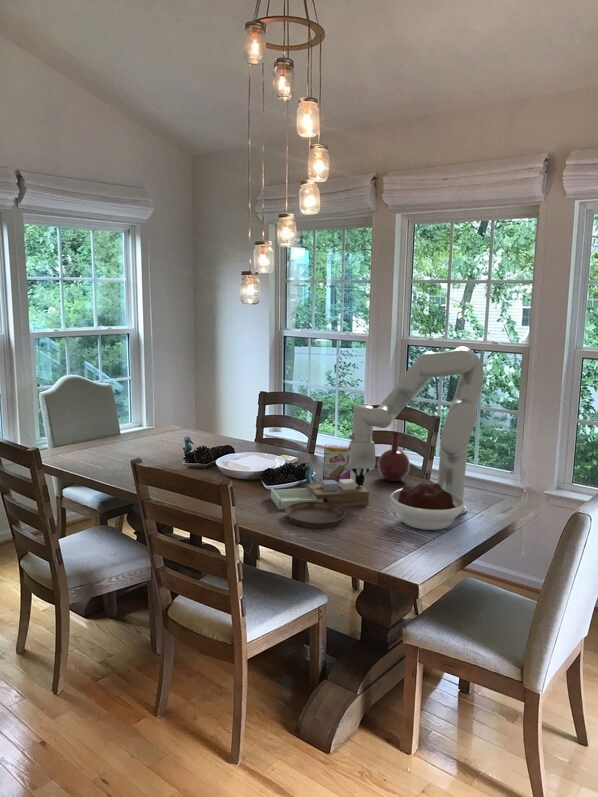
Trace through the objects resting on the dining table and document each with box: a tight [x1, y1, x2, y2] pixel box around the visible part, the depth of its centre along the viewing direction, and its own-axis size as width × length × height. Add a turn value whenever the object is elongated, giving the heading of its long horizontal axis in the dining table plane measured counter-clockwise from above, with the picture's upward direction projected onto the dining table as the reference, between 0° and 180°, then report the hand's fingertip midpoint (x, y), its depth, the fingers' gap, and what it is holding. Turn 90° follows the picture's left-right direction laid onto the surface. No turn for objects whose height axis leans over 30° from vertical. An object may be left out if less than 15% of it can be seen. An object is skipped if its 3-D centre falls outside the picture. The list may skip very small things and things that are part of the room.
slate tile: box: [321, 479, 338, 491], centre depth 255 cm, size 5×5×2 cm
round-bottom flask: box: [377, 432, 411, 482], centre depth 284 cm, size 13×13×20 cm
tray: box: [270, 487, 324, 511], centre depth 253 cm, size 13×17×4 cm
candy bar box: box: [322, 444, 352, 482], centre depth 274 cm, size 11×5×16 cm, turn 84°
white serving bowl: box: [389, 482, 465, 531], centre depth 233 cm, size 25×25×15 cm
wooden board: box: [306, 482, 370, 508], centre depth 256 cm, size 14×20×5 cm
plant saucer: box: [285, 502, 346, 529], centre depth 236 cm, size 21×21×3 cm
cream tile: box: [339, 478, 356, 490], centre depth 257 cm, size 5×5×2 cm
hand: (359, 484), depth 258 cm, fingers closed
